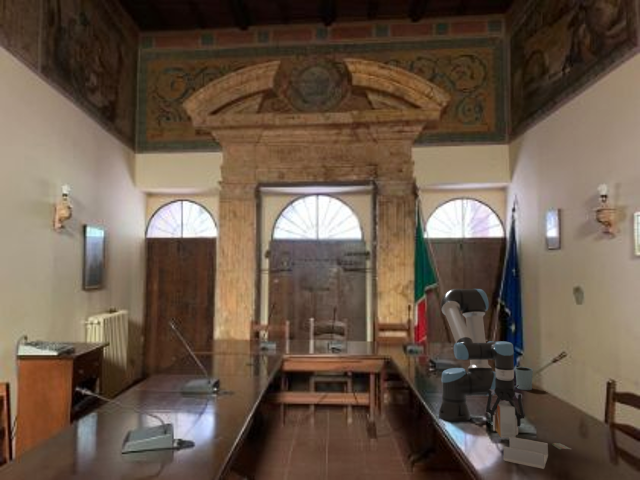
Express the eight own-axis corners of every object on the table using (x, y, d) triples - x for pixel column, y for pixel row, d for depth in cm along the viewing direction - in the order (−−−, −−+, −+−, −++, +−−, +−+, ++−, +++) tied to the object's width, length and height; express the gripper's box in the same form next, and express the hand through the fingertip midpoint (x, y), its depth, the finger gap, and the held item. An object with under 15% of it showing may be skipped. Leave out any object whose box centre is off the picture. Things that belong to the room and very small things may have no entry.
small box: (495, 430, 201) (495, 400, 201) (510, 431, 200) (510, 401, 201) (500, 438, 193) (499, 406, 193) (516, 438, 192) (515, 407, 193)
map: (557, 443, 193) (557, 441, 193) (604, 463, 174) (603, 460, 174) (548, 445, 191) (548, 443, 191) (595, 465, 172) (594, 462, 172)
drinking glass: (530, 386, 286) (529, 367, 287) (536, 390, 276) (535, 370, 277) (513, 386, 287) (512, 366, 288) (518, 390, 277) (518, 370, 278)
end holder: (503, 460, 176) (503, 447, 176) (510, 448, 187) (509, 436, 187) (544, 468, 168) (543, 455, 169) (548, 456, 180) (547, 443, 180)
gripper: (477, 376, 200) (478, 429, 199) (529, 383, 189) (530, 439, 188) (481, 373, 206) (482, 424, 205) (532, 379, 195) (533, 433, 194)
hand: (505, 431), depth 197 cm, fingers closed on small box, 8 cm apart
